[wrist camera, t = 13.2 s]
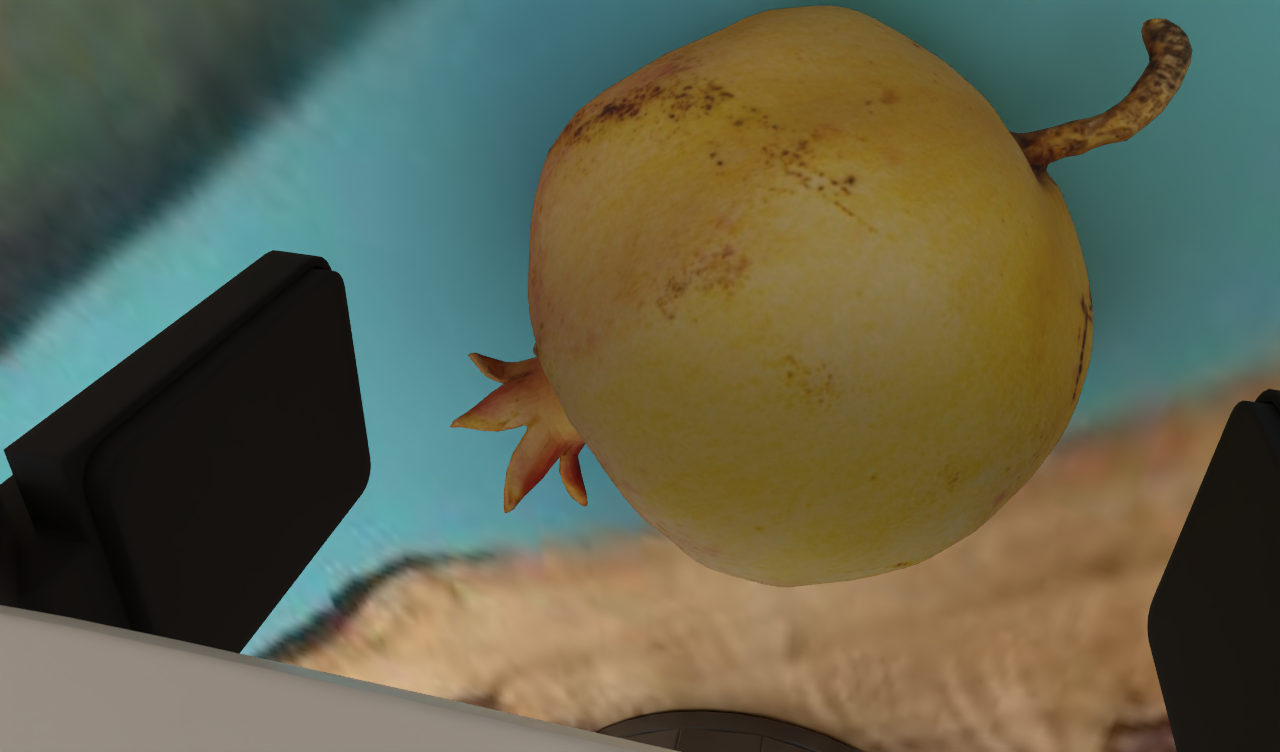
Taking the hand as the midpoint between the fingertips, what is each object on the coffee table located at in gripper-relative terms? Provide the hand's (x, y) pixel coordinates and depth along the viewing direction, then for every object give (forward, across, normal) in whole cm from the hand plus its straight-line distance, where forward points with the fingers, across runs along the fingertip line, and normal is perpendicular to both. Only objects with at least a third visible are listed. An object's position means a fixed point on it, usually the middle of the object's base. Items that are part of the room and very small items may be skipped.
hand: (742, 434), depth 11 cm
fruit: (+6, 0, 0) cm, 6 cm away
